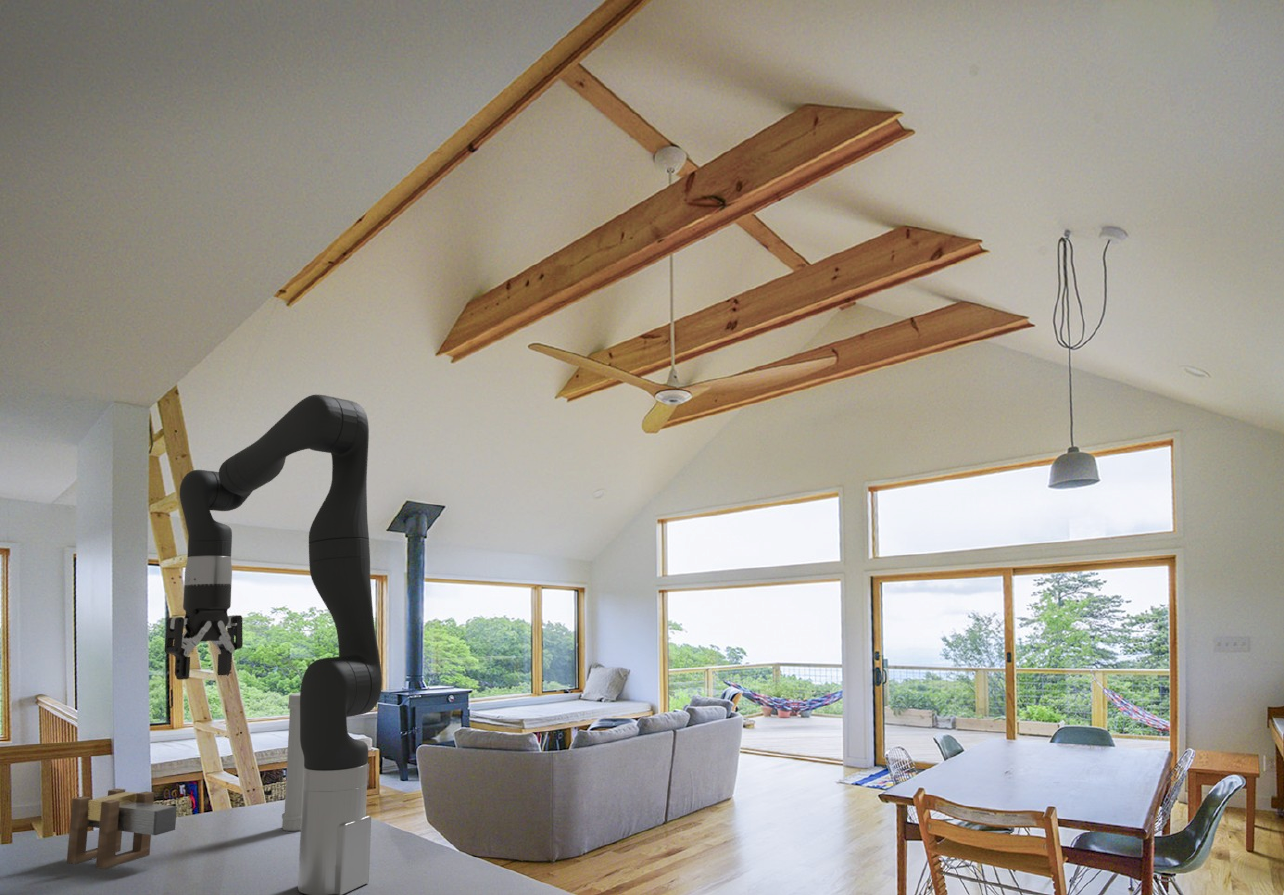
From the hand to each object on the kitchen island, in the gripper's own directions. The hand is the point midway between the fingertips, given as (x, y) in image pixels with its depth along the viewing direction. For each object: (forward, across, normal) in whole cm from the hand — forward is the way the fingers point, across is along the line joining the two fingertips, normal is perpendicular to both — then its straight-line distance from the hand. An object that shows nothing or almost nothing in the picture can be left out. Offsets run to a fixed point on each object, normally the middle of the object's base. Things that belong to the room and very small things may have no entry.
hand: (203, 677), depth 152 cm
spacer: (+22, -6, +12) cm, 26 cm away
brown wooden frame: (+29, -6, +12) cm, 32 cm away
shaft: (+24, -7, +8) cm, 26 cm away
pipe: (+29, +19, -3) cm, 35 cm away
